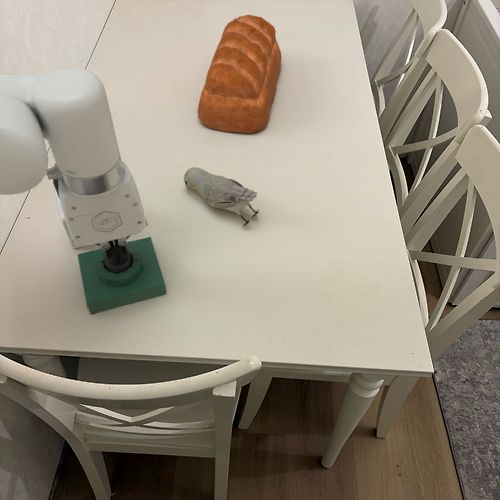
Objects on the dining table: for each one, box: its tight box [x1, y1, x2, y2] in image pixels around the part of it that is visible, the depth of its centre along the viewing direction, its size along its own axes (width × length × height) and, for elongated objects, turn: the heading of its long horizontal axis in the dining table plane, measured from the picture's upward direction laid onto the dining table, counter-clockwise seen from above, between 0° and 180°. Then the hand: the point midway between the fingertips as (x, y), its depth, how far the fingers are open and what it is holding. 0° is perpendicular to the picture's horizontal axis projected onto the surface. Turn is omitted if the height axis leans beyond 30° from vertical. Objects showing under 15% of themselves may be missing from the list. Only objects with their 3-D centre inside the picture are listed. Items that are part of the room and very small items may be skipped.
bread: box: [197, 14, 283, 134], centre depth 108 cm, size 16×31×13 cm, turn 170°
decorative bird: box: [183, 166, 260, 230], centre depth 87 cm, size 5×16×8 cm, turn 55°
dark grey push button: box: [104, 248, 132, 273], centre depth 75 cm, size 4×4×2 cm
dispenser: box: [77, 236, 167, 315], centre depth 77 cm, size 12×10×5 cm
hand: (118, 256), depth 75 cm, fingers closed
